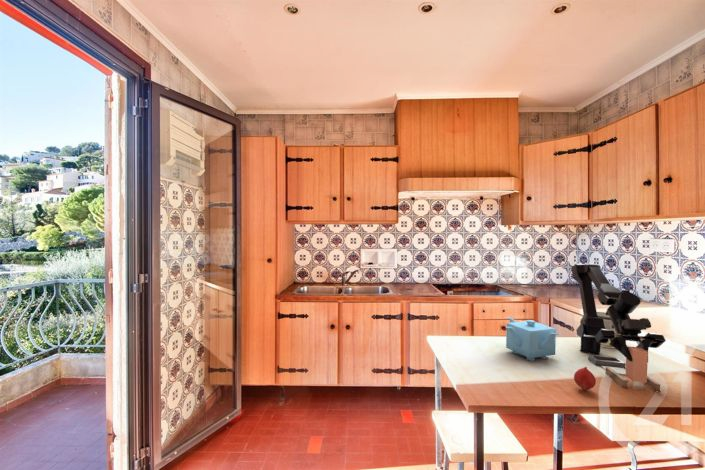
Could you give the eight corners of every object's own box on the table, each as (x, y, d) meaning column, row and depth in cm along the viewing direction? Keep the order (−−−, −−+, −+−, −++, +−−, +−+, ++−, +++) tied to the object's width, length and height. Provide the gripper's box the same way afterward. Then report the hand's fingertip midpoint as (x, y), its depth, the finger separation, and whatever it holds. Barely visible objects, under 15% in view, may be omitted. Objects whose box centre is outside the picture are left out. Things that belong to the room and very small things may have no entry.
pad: (601, 366, 123) (601, 365, 123) (622, 369, 121) (622, 368, 121) (609, 373, 117) (609, 372, 117) (632, 375, 115) (632, 374, 115)
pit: (588, 359, 130) (588, 354, 130) (616, 362, 127) (616, 357, 127) (595, 365, 124) (595, 360, 124) (625, 368, 122) (625, 363, 122)
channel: (605, 373, 117) (605, 366, 117) (638, 377, 114) (638, 370, 114) (623, 387, 106) (623, 380, 106) (660, 392, 104) (660, 384, 104)
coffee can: (586, 339, 155) (587, 310, 154) (612, 342, 151) (613, 313, 151) (595, 346, 145) (596, 316, 145) (622, 349, 142) (623, 318, 141)
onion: (569, 386, 106) (570, 362, 106) (585, 385, 107) (586, 362, 107) (583, 395, 101) (584, 370, 100) (600, 394, 101) (600, 370, 101)
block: (625, 375, 110) (626, 346, 110) (639, 377, 109) (640, 347, 109) (632, 381, 106) (633, 350, 106) (646, 382, 105) (647, 351, 105)
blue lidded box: (552, 352, 137) (553, 318, 137) (558, 368, 120) (560, 330, 120) (504, 344, 145) (505, 312, 145) (504, 358, 129) (505, 323, 128)
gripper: (600, 306, 113) (617, 348, 103) (662, 310, 109) (687, 354, 98) (589, 322, 121) (603, 362, 111) (646, 326, 117) (667, 368, 106)
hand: (639, 361), depth 106 cm, fingers closed on block, 4 cm apart
